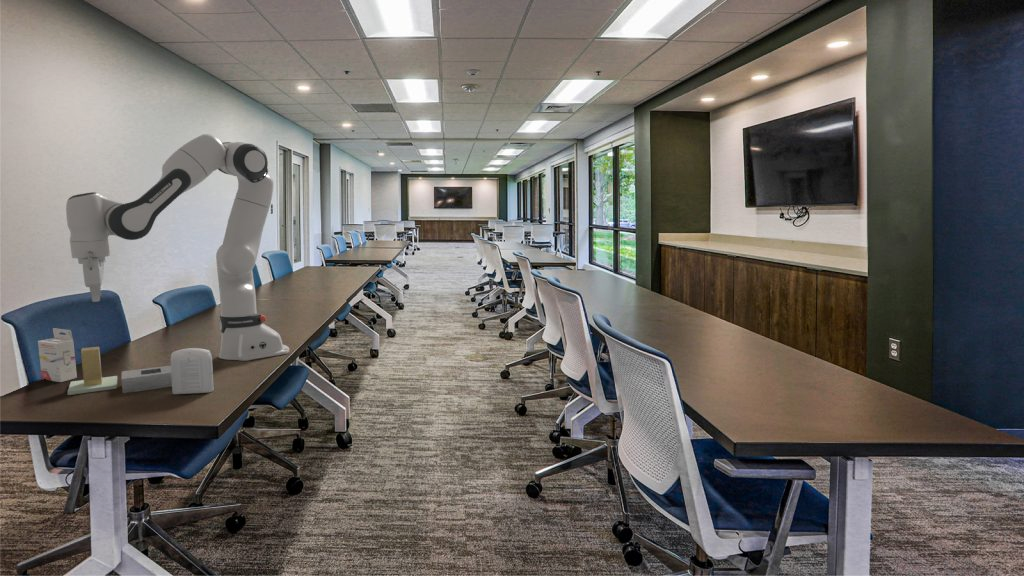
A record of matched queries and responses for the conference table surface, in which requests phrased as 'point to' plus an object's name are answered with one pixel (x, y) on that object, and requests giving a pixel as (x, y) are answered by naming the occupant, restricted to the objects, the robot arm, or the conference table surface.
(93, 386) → the sage mat
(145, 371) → the grey block with holes
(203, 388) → the photo printer
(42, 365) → the ink cartridge box
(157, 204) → the robot arm
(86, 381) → the brass peg
